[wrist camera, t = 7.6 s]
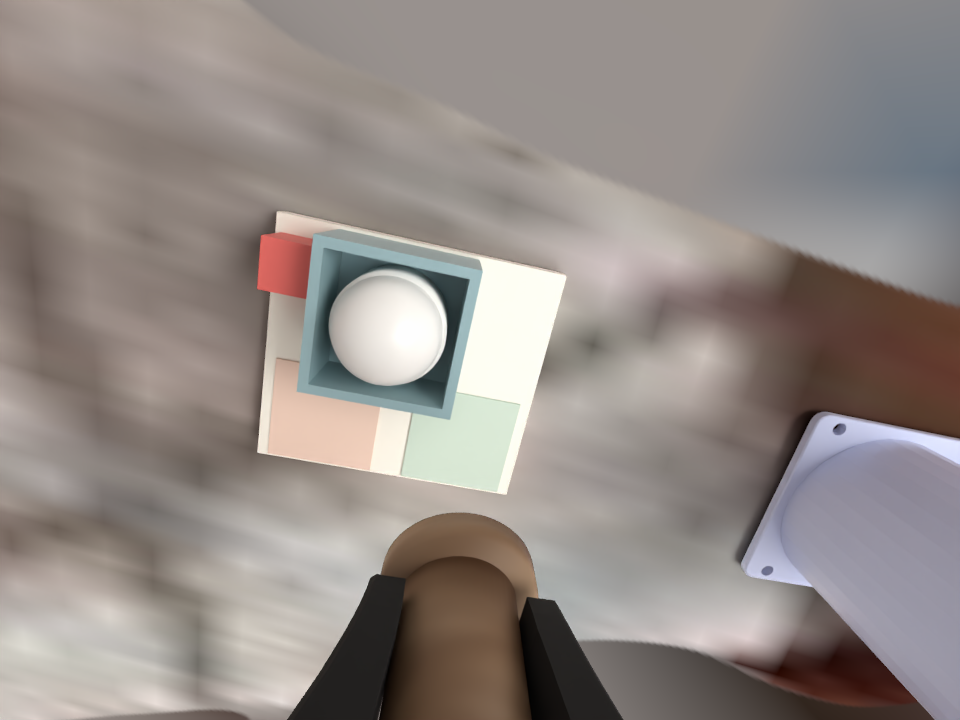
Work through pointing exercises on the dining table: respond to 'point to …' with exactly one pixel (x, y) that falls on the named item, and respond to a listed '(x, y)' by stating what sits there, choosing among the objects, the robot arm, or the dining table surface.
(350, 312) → the dome
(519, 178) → the dining table surface
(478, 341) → the game board
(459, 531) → the pawn
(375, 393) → the dome housing
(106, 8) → the dining table surface
